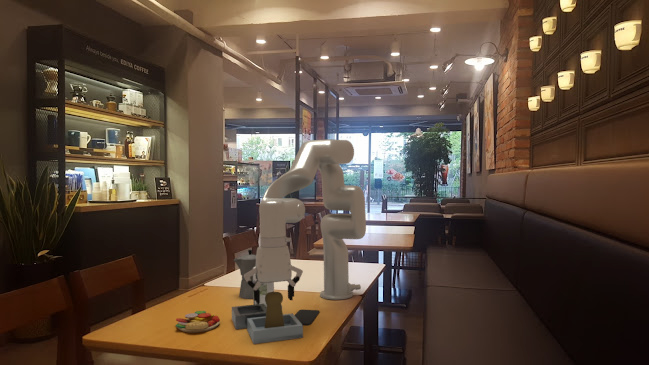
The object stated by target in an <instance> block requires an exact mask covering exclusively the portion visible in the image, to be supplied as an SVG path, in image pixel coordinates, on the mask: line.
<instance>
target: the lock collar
mask: <svg viewBox="0 0 649 365" xmlns="http://www.w3.org/2000/svg"><path fill="white" fill-rule="evenodd" d="M281 306H282V307H283V305H282V304H281ZM266 310H267V304H266V305H264V304H255V305H253V304H248V305H237V306H236V305H235V306H231V322H232V323H233V326H234V329H235V330H242V329H247V318H256V317H265V316H266Z"/></svg>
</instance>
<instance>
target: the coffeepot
mask: <svg viewBox="0 0 649 365" xmlns="http://www.w3.org/2000/svg"><path fill="white" fill-rule="evenodd" d="M247 251H248V254H245V255H242V256H240V257H235V258H234V259H233V262H235V264H236V265H237V268H239V271H240V276H241V281H240V287H239V294H238V297H239V298H240V299H243V300H244V299H245V300H253V288H252V287H251V286H249V285H248V283H247V281H246V280H245V278H244V274H246V273H247V272H249V271H251V270H252V269H253V268H254V267H255V266H256V254H253V249H249V250H247ZM250 280H251V281H252V282H253V275H252V276H251V277H250Z"/></svg>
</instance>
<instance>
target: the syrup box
mask: <svg viewBox="0 0 649 365" xmlns="http://www.w3.org/2000/svg"><path fill="white" fill-rule="evenodd" d="M255 267H256V266H255ZM255 267H254V268H255ZM254 268H253V269H254ZM256 280H257V279H256V276H255V274H254V275H253V283H254V282H255V281H256ZM259 290H260V303H259V304H264V305H266V304H267V303H266V302H265V296H266V294H267V293H269V292H275V282H271V283H262V284H261V285H260V287H259ZM252 300H253V301H252V302H253V304H252V305H255V304H257V303H256V301H254V289H253V299H252Z"/></svg>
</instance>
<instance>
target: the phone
mask: <svg viewBox="0 0 649 365" xmlns="http://www.w3.org/2000/svg"><path fill="white" fill-rule="evenodd" d="M320 313H321V311H320V310H318V309H299V310H297V312H296V313H295V314H294V316H295V317H296V318H297V319H298V320H299V322H300V323H301V324H302V325H303V326H305V327H306V326H311V325H312V324H313V322H314V321H316V320H315V319H317V317H318V316H319V314H320Z"/></svg>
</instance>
